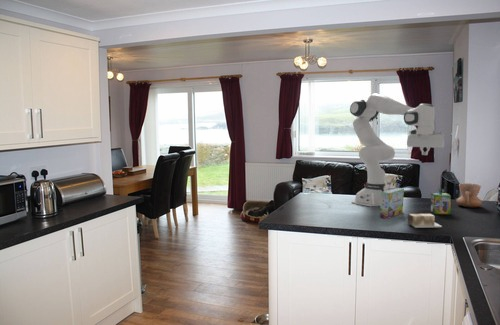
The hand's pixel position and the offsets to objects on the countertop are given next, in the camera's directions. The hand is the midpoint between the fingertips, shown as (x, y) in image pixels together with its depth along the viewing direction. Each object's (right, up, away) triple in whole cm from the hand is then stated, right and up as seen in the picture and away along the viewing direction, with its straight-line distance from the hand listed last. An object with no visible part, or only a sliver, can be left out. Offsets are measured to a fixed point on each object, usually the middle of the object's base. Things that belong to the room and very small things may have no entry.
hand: (424, 154), depth 236 cm
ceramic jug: (+37, -33, +21) cm, 54 cm away
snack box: (-19, -36, 0) cm, 41 cm away
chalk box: (+11, -35, +5) cm, 37 cm away
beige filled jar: (-18, -35, -23) cm, 46 cm away
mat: (-10, -38, -23) cm, 45 cm away
